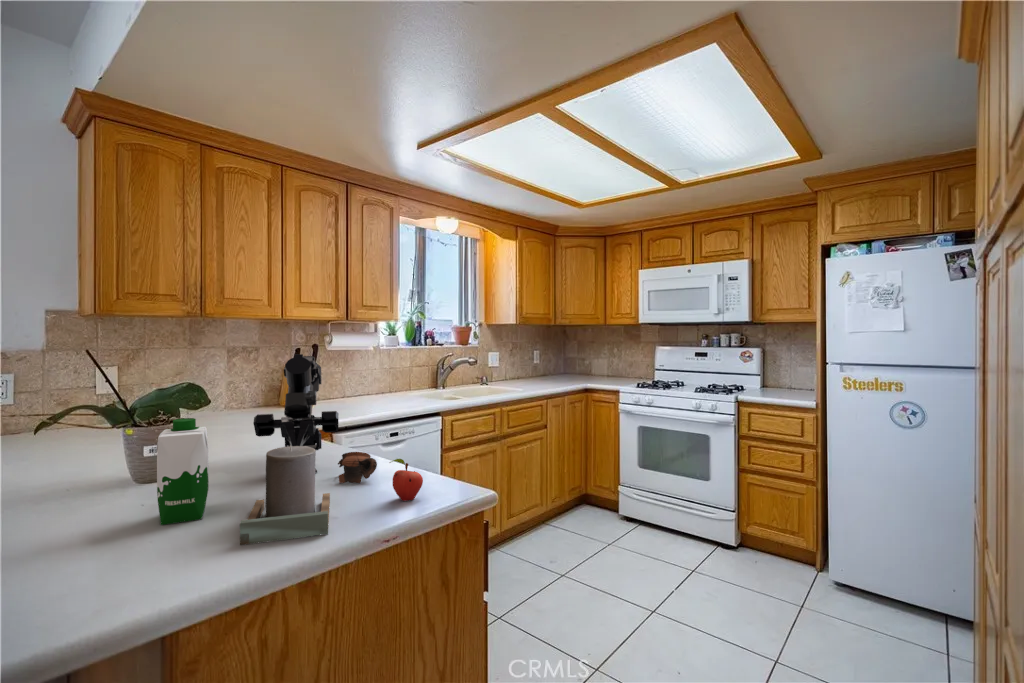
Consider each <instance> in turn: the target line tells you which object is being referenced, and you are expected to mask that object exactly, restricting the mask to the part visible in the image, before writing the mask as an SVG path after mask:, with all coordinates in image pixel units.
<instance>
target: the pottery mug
mask: <svg viewBox="0 0 1024 683" xmlns="http://www.w3.org/2000/svg"><path fill="white" fill-rule="evenodd" d="M337 465H339V466H338V468H341V467H343V473H341V474H339V475H338V483H339V484H345V483H346V484H347V483H350V484H361V483H362V477H363V478H364V479H366V480H367V479H369V478H370V477H371V475H373V474H374V472H375V471H376V469H377V467H378V466H377V465H378V463H377V460H376V459H375V458H372V456H371V454H369V453H367V452H362V451H350V452H345V453H343V454H342V455H341V459H339V461H338V463H337Z"/></svg>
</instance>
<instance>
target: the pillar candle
mask: <svg viewBox="0 0 1024 683" xmlns="http://www.w3.org/2000/svg"><path fill="white" fill-rule="evenodd" d="M316 451H317V450H315V449H314V448H311V447H307V446H291V445H290V447H285V446H283V447H277V448H274V449H271V450H269V451H267V452H266V454H265V516H264V518H268V517H277V516H286V515H296V514H305V513H314V512H315V511H316V507H315V506H316V473H315V469H316V453H317V452H316Z"/></svg>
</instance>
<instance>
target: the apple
mask: <svg viewBox="0 0 1024 683" xmlns="http://www.w3.org/2000/svg"><path fill="white" fill-rule="evenodd" d="M393 462H395V463H399V464H403V465H405V466H404V467H405V468H404V469H405V470H403V469H399V470H395V472H394V473H393V476H392V488H393V490H394V492H395V493H396V496H397V497H398V498H399V499H400V500H401V501H403V502H410V501H409V500H411V501H413V500H415V498H416V496H417V495H418V493H419V492H420V490H421V489H422V486H423V483H424V477H423V476H422V474H421V473H419V472H418V471H415V470H414V471H411V470H408V466H409V463H408V462H406V463H405V461H404V459H402V458H396V459H393V460H392V461H389V462H388V463H389V464H391V463H393Z"/></svg>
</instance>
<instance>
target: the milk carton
mask: <svg viewBox="0 0 1024 683" xmlns="http://www.w3.org/2000/svg"><path fill="white" fill-rule="evenodd" d="M196 420H197V419H196V418H194V417H192V418H191V417H185V418H176V419H174V420H172V428H169V429H168V428H167V429H164V430H162V432H160V433H159V435H158V437H157V443H156V450H155V451H156V452H157V454H156V492H157V493H156V494H157V495H156V496H157V497H156V498H157V505H158V512H159V522H160V526H165V525H171V524H177V523H178V522H179V523H186V522H192V520H193V521H197V520H199V519H200V520H202V519H203V516H204V512H205V509H206V504H207V500H208V499H207V498H208V494H209V437H208V429H207V426H197V425H196V424H197V423H196ZM179 523H178V524H179Z"/></svg>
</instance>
